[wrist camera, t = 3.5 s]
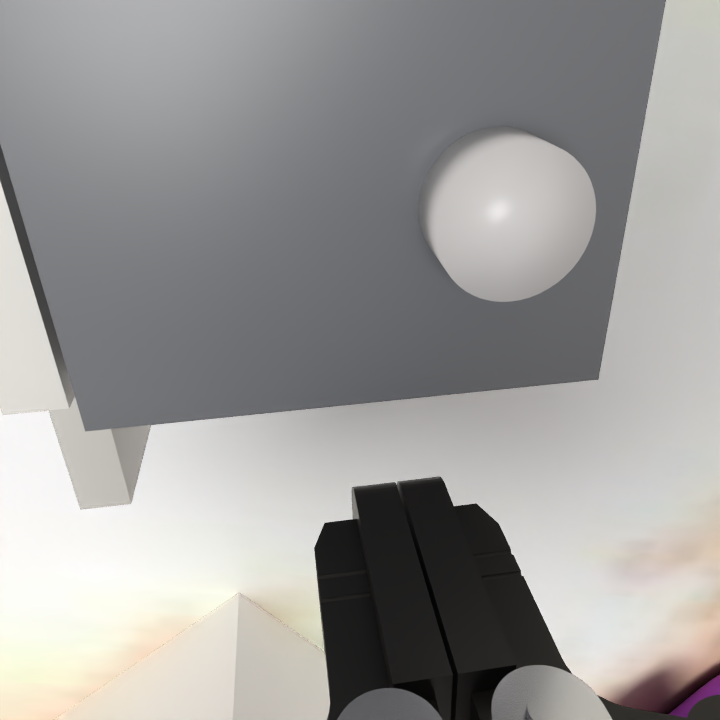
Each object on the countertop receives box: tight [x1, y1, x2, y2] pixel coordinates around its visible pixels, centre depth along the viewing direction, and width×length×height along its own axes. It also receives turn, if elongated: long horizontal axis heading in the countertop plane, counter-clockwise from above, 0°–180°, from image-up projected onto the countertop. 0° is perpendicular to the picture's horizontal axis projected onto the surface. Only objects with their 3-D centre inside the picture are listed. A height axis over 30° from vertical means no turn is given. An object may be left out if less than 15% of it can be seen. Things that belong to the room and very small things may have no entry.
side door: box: [0, 144, 151, 509], centre depth 11 cm, size 14×1×7 cm, turn 2°
